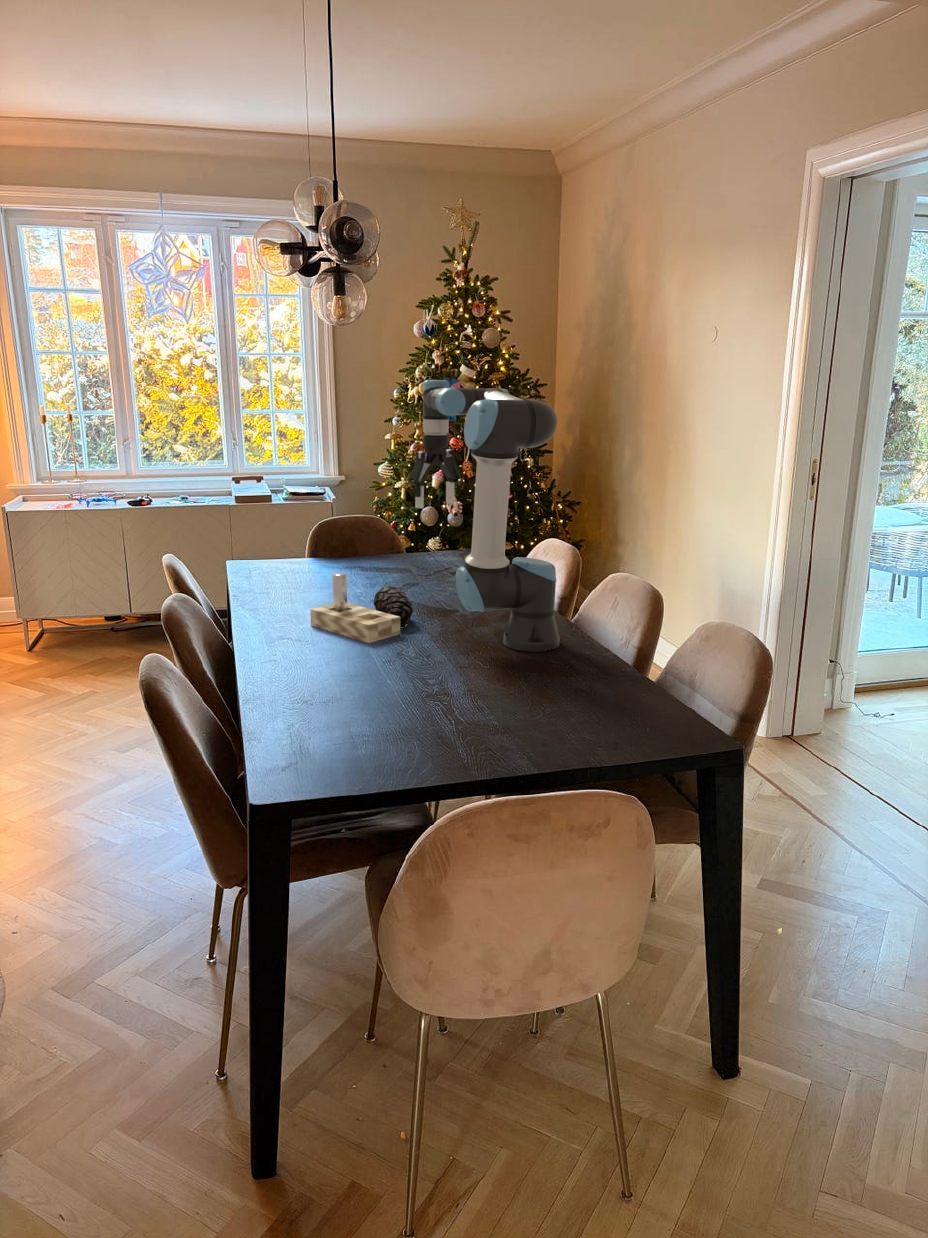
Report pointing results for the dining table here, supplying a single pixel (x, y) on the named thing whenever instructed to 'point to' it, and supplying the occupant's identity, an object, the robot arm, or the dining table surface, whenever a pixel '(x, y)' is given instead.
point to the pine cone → (394, 603)
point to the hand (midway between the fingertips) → (435, 505)
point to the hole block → (356, 622)
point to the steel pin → (339, 592)
